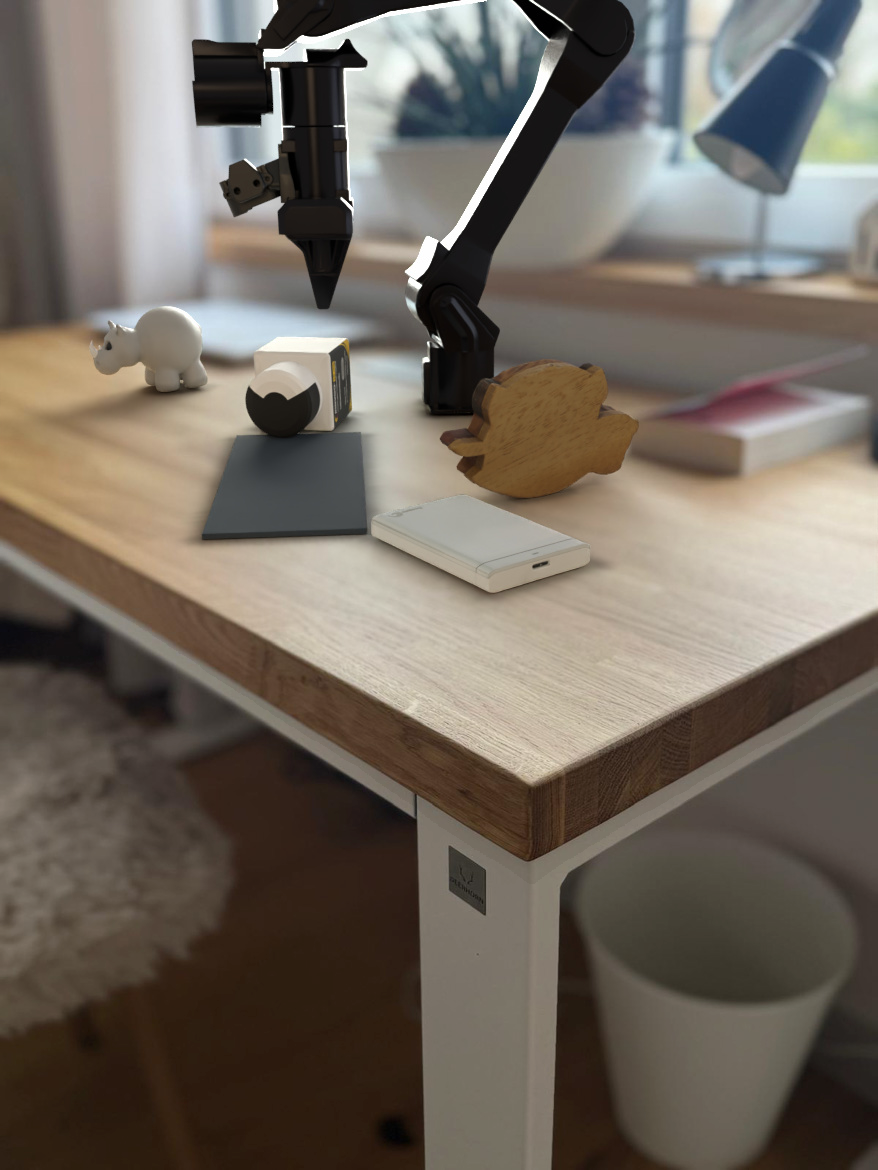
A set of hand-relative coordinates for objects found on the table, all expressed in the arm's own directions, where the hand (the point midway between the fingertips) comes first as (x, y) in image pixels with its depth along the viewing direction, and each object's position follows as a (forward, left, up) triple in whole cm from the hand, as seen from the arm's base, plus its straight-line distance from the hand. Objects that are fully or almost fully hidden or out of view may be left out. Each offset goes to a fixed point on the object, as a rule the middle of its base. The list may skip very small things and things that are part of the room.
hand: (323, 308), depth 101 cm
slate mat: (+3, +22, -10) cm, 24 cm away
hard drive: (-10, +39, -10) cm, 41 cm away
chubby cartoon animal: (+19, -13, -10) cm, 25 cm away
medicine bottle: (+1, -1, -6) cm, 6 cm away
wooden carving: (-16, +27, -10) cm, 33 cm away
